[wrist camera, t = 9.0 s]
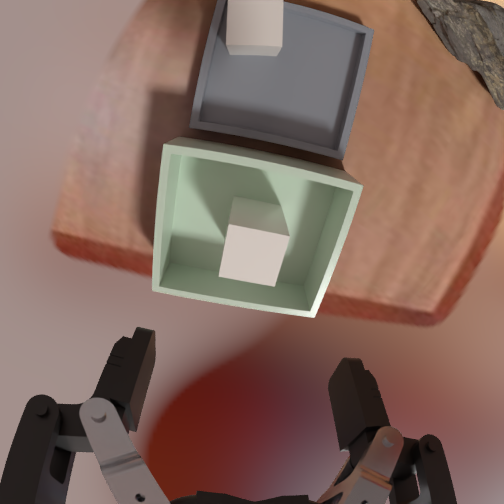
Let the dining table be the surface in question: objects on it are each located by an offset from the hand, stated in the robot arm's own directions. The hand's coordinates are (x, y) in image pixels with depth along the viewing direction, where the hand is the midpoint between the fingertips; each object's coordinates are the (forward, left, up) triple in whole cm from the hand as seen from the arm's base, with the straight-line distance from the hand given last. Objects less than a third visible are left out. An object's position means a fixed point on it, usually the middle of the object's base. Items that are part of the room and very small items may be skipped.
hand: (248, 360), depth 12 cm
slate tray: (-13, 0, -16) cm, 20 cm away
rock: (-23, +18, -16) cm, 33 cm away
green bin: (0, 0, -16) cm, 16 cm away
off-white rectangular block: (0, 0, -15) cm, 15 cm away
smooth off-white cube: (-15, -3, -15) cm, 22 cm away
